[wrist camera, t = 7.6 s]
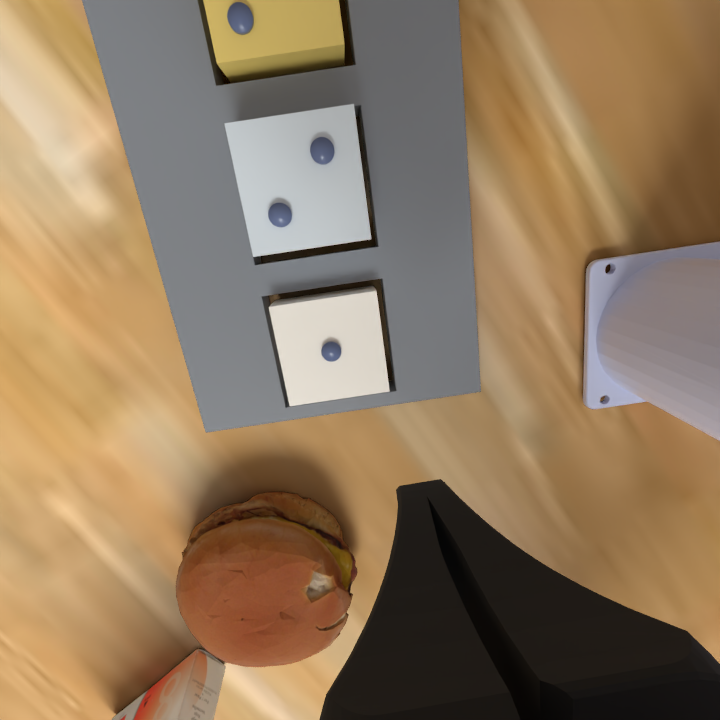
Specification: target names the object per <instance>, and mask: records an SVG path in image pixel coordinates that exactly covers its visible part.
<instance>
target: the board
mask: <svg viewBox="0 0 720 720" xmlns="http://www.w3.org/2000/svg"><path fill="white" fill-rule="evenodd" d="M82 2H83V5H84V9H85V12H86V16H87V19H88V23H89V26H90V30H91V33H92V37H93V40H94V44H95V47H96V51H97V54H98V58H99V61H100V65H101V68H102V72H103V75H104V79H105V82H106V86H107V89H108V93H109V96H110V100H111V103H112V107H113V110H114V113H115V117H116V120H117V124H118V127H119V131H120V134H121V138H122V141H123V145H124V148H125V152H126V155H127V159H128V162H129V166H130V169H131V173H132V176H133V180H134V183H135V187H136V190H137V194H138V197H139V201H140V204H141V208H142V211H143V215H144V218H145V222H146V225H147V229H148V232H149V236H150V239H151V243H152V246H153V250H154V253H155V257H156V260H157V264H158V267H159V271H160V274H161V278H162V281H163V285H164V288H165V292H166V295H167V299H168V302H169V306H170V309H171V313H172V316H173V320H174V323H175V327H176V330H177V334H178V337H179V341H180V344H181V348H182V351H183V355H184V358H185V362H186V365H187V369H188V372H189V376H190V379H191V383H192V386H193V389H194V393H195V396H196V400H197V403H198V407H199V410H200V414H201V417H202V421H203V424H204V428H205V431H206V432H213V431H220V430H227V429H233V428H240V427H247V426H254V425H260V424H267V423H274V422H280V421H287V420H294V419H301V418H307V417H314V416H321V415H328V414H334V413H341V412H348V411H354V410H361V409H368V408H375V407H381V406H388V405H395V404H402V403H408V402H415V401H422V400H428V399H435V398H442V397H449V396H455V395H462V394H469V393H476V392H481V386H480V368H479V351H478V333H477V316H476V298H475V281H474V263H473V246H472V228H471V211H470V193H469V176H468V159H467V141H466V124H465V106H464V89H463V71H462V54H461V36H460V19H459V1H458V0H345V6H346V14H347V22H348V29H349V37H350V45H351V53H352V61H353V65H352V66H345V67H338V68H332V69H325V70H318V71H312V72H305V73H299V74H292V75H285V76H279V77H272V78H266V79H259V80H252V81H246V82H239V83H232V84H226V85H224V82H223V78H222V73H221V69H220V67H219V66H218V65H217V62H216V58H215V53H214V48H213V44H212V39H211V34H210V29H209V25H208V20H207V15H206V11H205V6H204V1H203V0H82ZM350 104H354V109H355V116H360V124H361V132H362V140H363V148H364V156H365V164H366V172H367V180H368V188H369V196H370V204H371V211H372V219H373V227H374V235H375V243H376V246H372V247H365V248H358V249H352V250H345V251H338V252H332V253H325V254H318V255H312V256H305V257H298V258H292V259H285V260H278V261H272V262H265V263H261V258H260V256H257V257H253V254H252V249H251V245H250V240H249V236H248V231H247V226H246V222H245V217H244V212H243V208H242V203H241V199H240V194H239V189H238V185H237V180H236V175H235V171H234V166H233V161H232V157H231V152H230V148H229V143H228V138H227V134H226V129H225V124H224V123H230V122H237V121H244V120H250V119H257V118H263V117H270V116H277V115H283V114H290V113H297V112H303V111H310V110H316V109H323V108H330V107H336V106H343V105H350ZM374 279H380V283H381V291H382V298H383V306H384V314H385V322H386V330H387V338H388V346H389V354H390V362H391V370H392V378H393V380H391V381H388V382H389V390H390V392H383V393H377V394H370V395H363V396H356V397H350V398H343V399H336V400H330V401H323V402H316V403H309V404H303V405H296V406H289V401H288V396H287V392H286V387H285V382H284V377H283V373H282V368H281V363H280V359H279V354H278V349H277V345H276V340H275V335H274V330H273V326H272V321H271V316H270V312H269V306H270V301H269V296H268V295H274V294H281V293H288V292H294V291H301V290H308V289H314V288H321V287H328V286H334V285H341V284H348V283H354V282H361V281H368V280H374Z"/></svg>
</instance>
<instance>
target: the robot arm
mask: <svg viewBox="0 0 720 720" xmlns="http://www.w3.org/2000/svg"><path fill="white" fill-rule="evenodd" d="M608 264H610V266H611V268H610V271H609V272H608V273H606V272H605V268H606V266H607V265H608ZM602 396H605V399H604V400H603V401H600V399H601V397H602ZM640 402H649V403H651V404H653V405H655V406H657V407H658V408H660V409H662V410H664V411H666V412H668V413H669V414H671V415H673V416H675V417H677V418H679V419H680V420H682V421H684V422H686V423H688V424H690V425H691V426H693V427H695V428H697V429H699V430H700V431H702V432H704V433H706V434H708V435H710V436H711V437H713V438H715V439H717V440H719V441H720V241H718V242H711V243H705V244H698V245H691V246H685V247H678V248H671V249H665V250H658V251H651V252H644V253H638V254H631V255H624V256H618V257H611V258H604V259H598V260H594V261H592V262H591V263H590V264H589V265H588V266H587V269H586V295H585V336H584V377H583V403H584V404H585V406H587V407H588V408H590V409H600V408H607V407H614V406H620V405H627V404H634V403H640ZM396 492H397V500H398V514H397V523H396V530H395V536H394V541H393V546H392V550H391V554H390V559H389V563H388V566H387V570H386V573H385V576H384V579H383V582H382V585H381V588H380V591H379V593H378V596H377V599H376V601H375V604H374V606H373V609H372V611H371V614H370V616H369V618H368V620H367V623H366V625H365V627H364V629H363V631H362V633H361V635H360V637H359V639H358V641H357V643H356V645H355V647H354V649H353V651H352V653H351V654H350V656H349V658H348V660H347V661H346V663H345V665H344V666H343V668H342V670H341V671H340V673H339V675H338V676H337V678H336V680H335V681H334V683H333V684H332V686H331V688H330V689H329V691H328V693H327V694H326V697H325V701H324V705H323V709H322V712H321V716H320V720H720V664H719V663H718V662H717V661H716V659H715V658H714V657H713V656H712V655H711V654H710V653H709V652H708V651H707V650H706V649H705V648H704V647H703V646H702V645H701V644H700V643H699V642H698V641H696V640H695V639H694V638H693V637H692V636H691V635H690V634H689V633H688V632H687V631H685V630H683V629H680V628H678V627H675V626H672V625H670V624H667V623H665V622H662V621H660V620H657V619H655V618H652V617H650V616H647V615H644V614H642V613H639V612H637V611H634V610H632V609H630V608H627V607H625V606H623V605H621V604H619V603H616V602H614V601H612V600H610V599H608V598H606V597H603V596H601V595H599V594H597V593H595V592H593V591H591V590H589V589H587V588H585V587H583V586H581V585H579V584H578V583H576V582H574V581H572V580H570V579H568V578H567V577H565V576H563V575H561V574H559V573H558V572H556V571H554V570H552V569H551V568H549V567H547V566H546V565H544V564H542V563H541V562H539V561H538V560H536V559H535V558H533V557H532V556H530V555H529V554H527V553H526V552H524V551H523V550H521V549H520V548H519V547H517V546H516V545H514V544H513V543H512V542H510V541H509V540H508V539H507V538H505V537H504V536H503V535H501V534H500V533H499V532H497V531H496V530H495V529H494V528H493V527H491V526H490V525H489V524H488V523H487V522H486V521H484V520H483V519H482V518H481V517H480V516H479V515H478V514H476V513H475V512H474V511H473V510H472V509H471V508H470V507H469V506H468V505H467V504H466V503H464V502H463V501H462V500H461V499H460V498H459V497H458V496H457V495H456V494H455V493H454V492H453V491H452V490H451V489H450V488H449V487H448V485H447V484H446V483H445V482H443V481H442V480H441V479H439V480H433V481H427V482H421V483H415V484H409V485H403V486H399V487H398V488H397V490H396Z"/></svg>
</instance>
